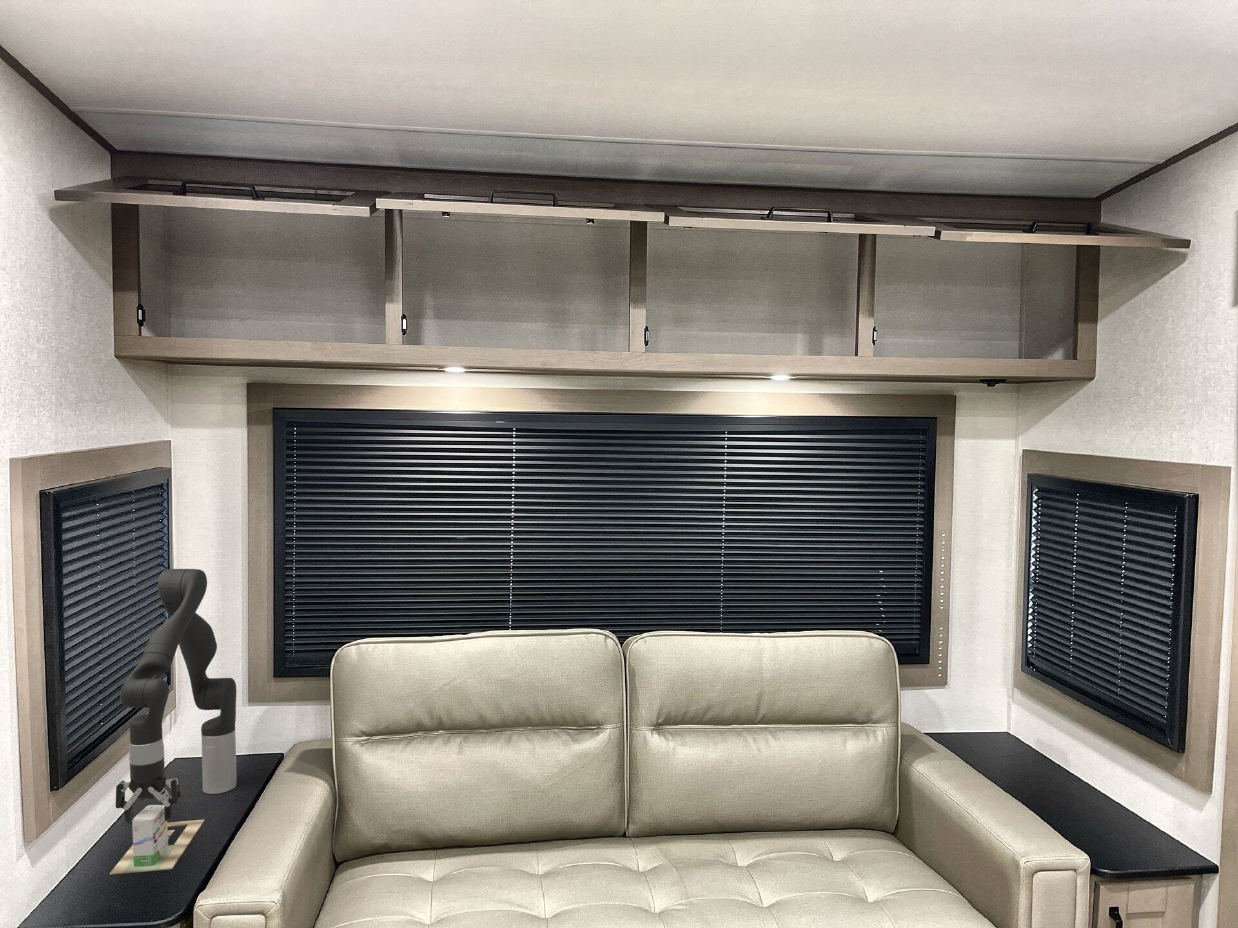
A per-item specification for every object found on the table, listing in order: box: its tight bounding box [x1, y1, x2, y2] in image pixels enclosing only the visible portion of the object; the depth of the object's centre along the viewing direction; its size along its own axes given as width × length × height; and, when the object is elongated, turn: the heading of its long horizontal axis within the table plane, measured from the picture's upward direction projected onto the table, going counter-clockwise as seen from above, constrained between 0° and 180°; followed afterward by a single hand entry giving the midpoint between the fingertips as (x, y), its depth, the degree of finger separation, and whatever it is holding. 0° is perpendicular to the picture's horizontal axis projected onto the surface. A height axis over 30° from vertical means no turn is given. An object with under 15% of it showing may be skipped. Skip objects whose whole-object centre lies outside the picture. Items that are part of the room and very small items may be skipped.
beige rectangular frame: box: [109, 819, 205, 875], centre depth 216 cm, size 26×14×1 cm, turn 10°
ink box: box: [131, 804, 169, 866], centre depth 210 cm, size 8×5×12 cm, turn 5°
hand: (149, 821), depth 209 cm, fingers open, 8 cm apart
